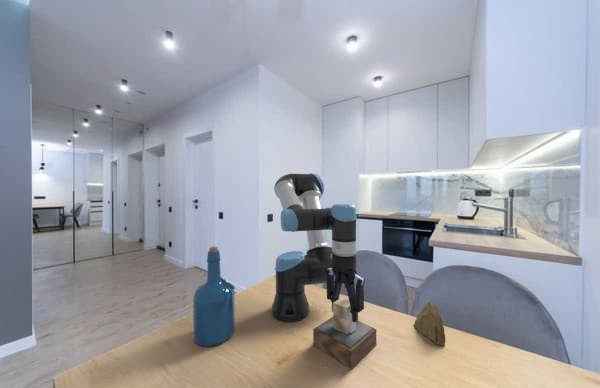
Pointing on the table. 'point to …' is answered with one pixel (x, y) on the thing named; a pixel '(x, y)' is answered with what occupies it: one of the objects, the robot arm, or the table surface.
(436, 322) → the rock
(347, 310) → the beech block
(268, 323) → the table surface
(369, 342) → the walnut plinth
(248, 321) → the table surface
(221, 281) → the wine bottle
